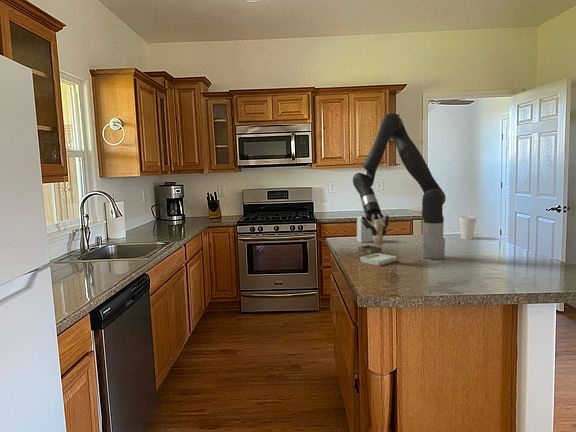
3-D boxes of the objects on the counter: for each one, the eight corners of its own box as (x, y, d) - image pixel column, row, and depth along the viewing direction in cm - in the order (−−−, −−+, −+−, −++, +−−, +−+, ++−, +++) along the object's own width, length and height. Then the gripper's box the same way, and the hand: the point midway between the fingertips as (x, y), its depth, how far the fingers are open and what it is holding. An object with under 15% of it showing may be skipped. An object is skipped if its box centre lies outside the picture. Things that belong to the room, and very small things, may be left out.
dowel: (380, 244, 192) (381, 219, 191) (383, 246, 188) (384, 220, 187) (372, 244, 192) (373, 219, 190) (375, 246, 188) (375, 220, 186)
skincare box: (361, 242, 237) (361, 217, 235) (356, 241, 243) (356, 216, 241) (373, 241, 240) (374, 216, 238) (368, 240, 245) (369, 215, 244)
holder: (381, 253, 207) (381, 247, 206) (371, 256, 201) (371, 249, 201) (368, 251, 213) (369, 245, 212) (358, 253, 208) (358, 247, 207)
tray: (396, 261, 191) (396, 256, 190) (379, 265, 183) (379, 261, 182) (377, 257, 199) (377, 252, 199) (360, 261, 191) (360, 257, 191)
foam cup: (460, 239, 241) (461, 218, 239) (456, 237, 250) (457, 216, 248) (477, 239, 239) (478, 218, 238) (473, 237, 248) (473, 216, 247)
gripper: (358, 201, 194) (367, 230, 183) (386, 200, 196) (397, 229, 186) (354, 211, 199) (363, 239, 189) (382, 210, 202) (392, 238, 192)
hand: (380, 234), depth 187 cm, fingers closed on dowel, 4 cm apart
